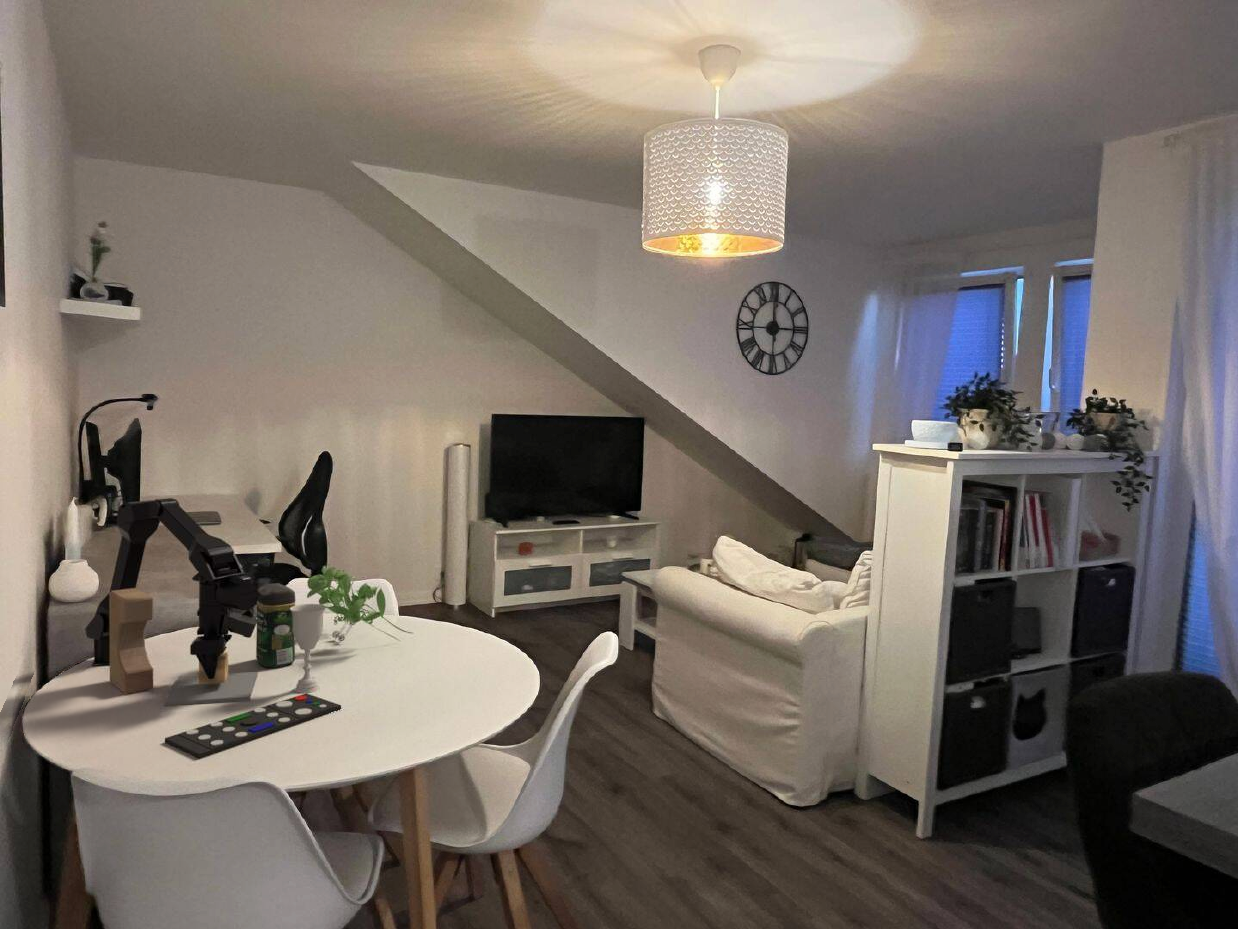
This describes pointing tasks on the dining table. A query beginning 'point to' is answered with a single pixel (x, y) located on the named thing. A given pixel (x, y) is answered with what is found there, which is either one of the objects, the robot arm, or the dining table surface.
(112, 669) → the decorative block
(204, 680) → the oak cube
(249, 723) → the remote control
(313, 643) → the chalice
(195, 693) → the charcoal mat
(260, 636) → the coffee jar
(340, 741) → the dining table surface
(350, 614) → the plant cuttings
